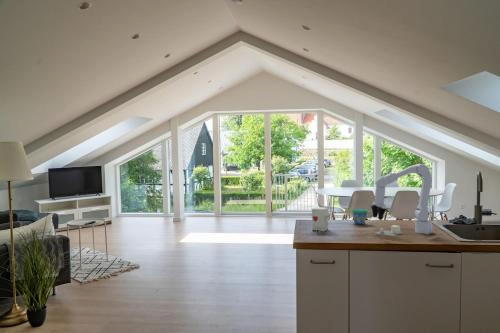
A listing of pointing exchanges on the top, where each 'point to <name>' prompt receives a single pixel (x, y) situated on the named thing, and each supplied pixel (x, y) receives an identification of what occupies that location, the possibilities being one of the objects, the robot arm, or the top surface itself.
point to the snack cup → (359, 215)
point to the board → (386, 232)
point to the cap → (395, 229)
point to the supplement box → (319, 218)
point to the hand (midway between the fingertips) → (377, 218)
